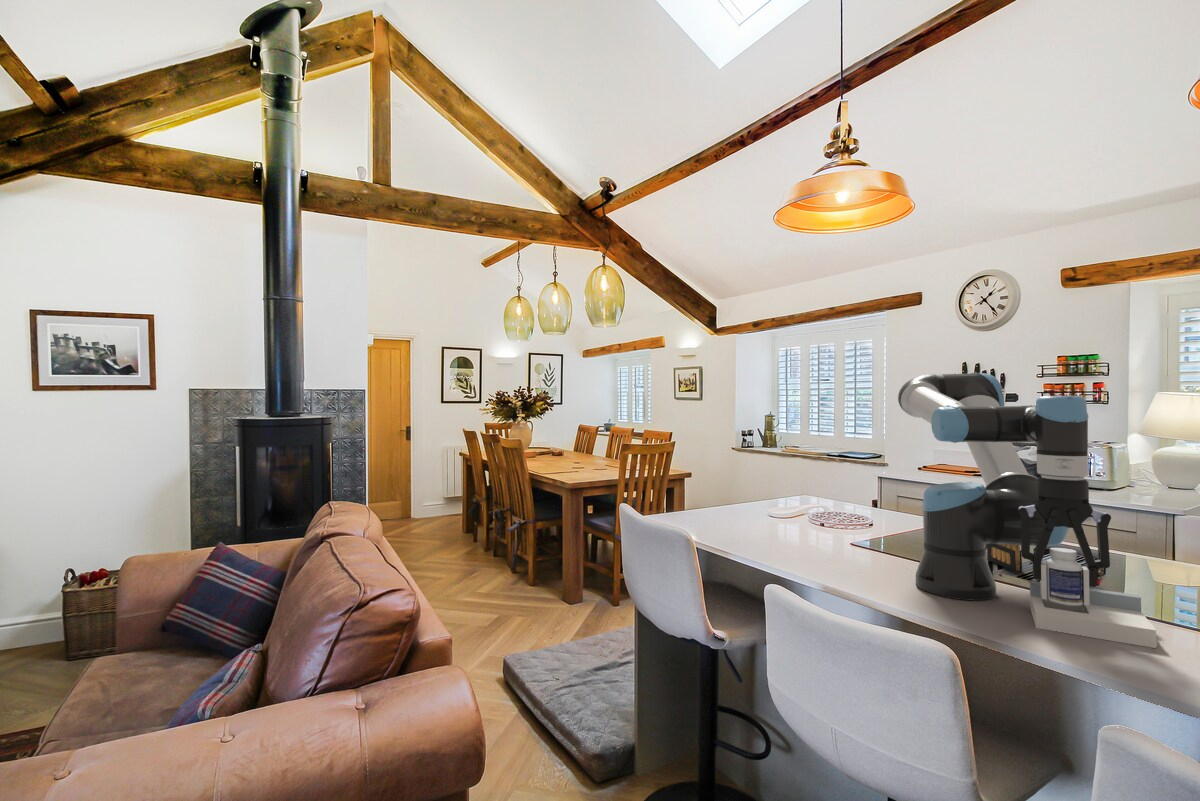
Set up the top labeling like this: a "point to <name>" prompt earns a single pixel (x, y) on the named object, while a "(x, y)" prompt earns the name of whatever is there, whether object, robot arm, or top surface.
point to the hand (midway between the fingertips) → (1064, 599)
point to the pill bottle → (1064, 577)
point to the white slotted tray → (1096, 617)
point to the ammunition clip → (1005, 556)
